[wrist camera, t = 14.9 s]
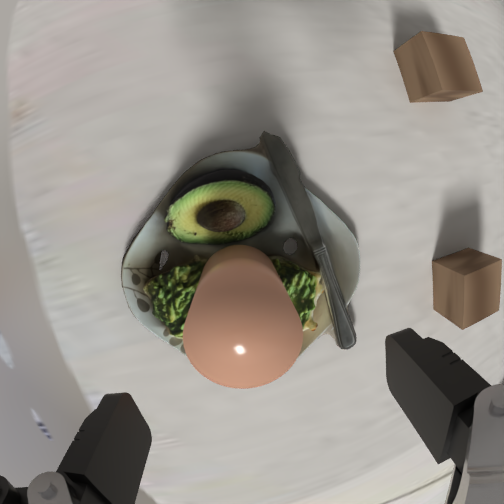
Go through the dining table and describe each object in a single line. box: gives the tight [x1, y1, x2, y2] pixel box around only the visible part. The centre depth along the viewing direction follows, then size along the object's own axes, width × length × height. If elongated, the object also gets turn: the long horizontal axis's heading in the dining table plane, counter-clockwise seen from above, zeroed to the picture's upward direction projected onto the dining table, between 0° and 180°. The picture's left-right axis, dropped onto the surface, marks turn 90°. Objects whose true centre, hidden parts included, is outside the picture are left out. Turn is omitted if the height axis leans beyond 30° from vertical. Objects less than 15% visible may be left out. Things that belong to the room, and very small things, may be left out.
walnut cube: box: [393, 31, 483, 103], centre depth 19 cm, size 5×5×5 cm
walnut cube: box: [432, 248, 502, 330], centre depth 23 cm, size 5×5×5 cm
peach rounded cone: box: [183, 245, 303, 389], centre depth 16 cm, size 5×5×8 cm
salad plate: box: [121, 131, 360, 360], centre depth 22 cm, size 19×18×5 cm
